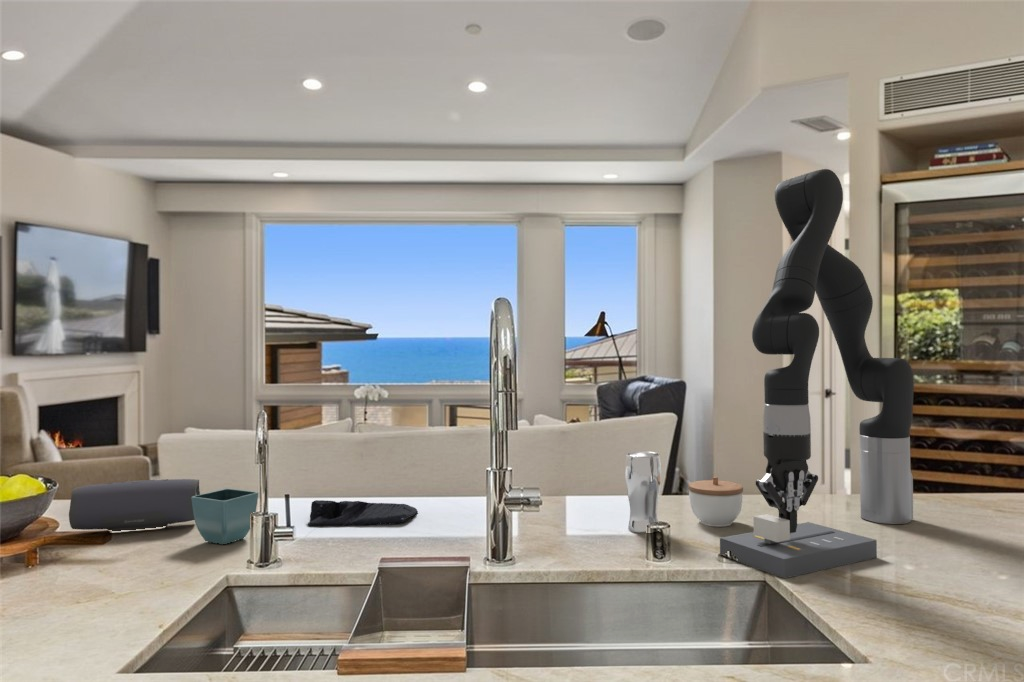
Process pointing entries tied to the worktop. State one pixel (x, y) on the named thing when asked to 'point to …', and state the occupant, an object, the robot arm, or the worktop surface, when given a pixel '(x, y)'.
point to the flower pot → (224, 514)
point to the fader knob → (771, 528)
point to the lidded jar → (715, 501)
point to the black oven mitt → (358, 513)
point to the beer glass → (643, 488)
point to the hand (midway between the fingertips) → (788, 531)
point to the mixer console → (800, 550)
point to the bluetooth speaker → (132, 504)
